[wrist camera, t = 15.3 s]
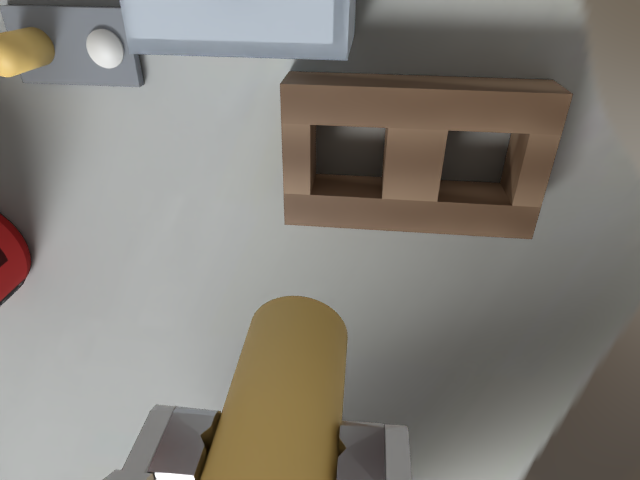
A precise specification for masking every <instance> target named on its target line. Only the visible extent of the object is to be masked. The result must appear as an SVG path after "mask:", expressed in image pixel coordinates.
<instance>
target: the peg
mask: <svg viewBox="0 0 640 480" xmlns="http://www.w3.org/2000/svg"><path fill="white" fill-rule="evenodd" d="M347 338H348V337H347V329H346V326H345V324H344V322H343V320H342V319H341V317H340V316H339V315H338V314H337V313H336V312H335V311H334V310H333V309H332V308H330V307H329V306H327V305H326V304H324V303H322V302H320V301H317V300H315V299H312V298H307V297H302V296H285V297H280V298H276V299H273V300H271V301H269V302H267V303H265V304H264V305H262V306H261V307H260V308H259V309H258V310H257V311H256V313H255V314H254V316H253V318H252V321H251V324H250V327H249V330H248V333H247V336H246V339H245V342H244V345H243V349H242V352H241V355H240V358H239V361H238V364H237V367H236V370H235V373H234V376H233V379H232V382H231V386H230V389H229V392H228V395H227V398H226V401H225V404H224V407H223V410H222V413H221V416H220V420H219V423H218V426H217V429H216V432H215V435H214V438H213V441H212V444H211V447H210V450H209V453H208V456H207V460H206V463H205V466H204V469H203V472H202V475H201V478H200V480H336V479H337V463H338V457H339V435H340V423H341V420H342V412H343V397H344V382H345V367H346V353H347Z"/></svg>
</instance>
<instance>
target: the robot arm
mask: <svg viewBox="0 0 640 480" xmlns="http://www.w3.org/2000/svg"><path fill="white" fill-rule="evenodd" d="M220 416H221V411H216V410H206V409H196V408H187V407H178V406H167V405H155V406H154V407H153V409H152V410H151V411H150V413H149V415H148V417H147V419H146V421H145V423H144V425H143V427H142V429H141V431H140V433H139V435H138V437H137V439H136V441H135V444H134V446H133V448H132V450H131V452H130V454H129V456H128V458H127V460H126V462H125V464H124V466H123V468H122V470H114V471H113V472H112V473H111V474H109V475H108V476H107V477H106V478H104V479H103V480H200V478H201V475H202V472H203V469H204V466H205V463H206V460H207V456H208V453H209V450H210V447H211V444H212V441H213V438H214V435H215V432H216V429H217V426H218V423H219V420H220ZM336 480H412V472H411V458H410V444H409V430H408V428H407V426H406V425H390V424H385V425H384V423H373V422H358V421H343V420H341V423H340V435H339V457H338V463H337V479H336Z"/></svg>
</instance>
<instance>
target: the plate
mask: <svg viewBox="0 0 640 480" xmlns="http://www.w3.org/2000/svg"><path fill="white" fill-rule="evenodd" d="M0 10H1V13H2V17H3V20H4V23H5V26H6V30H7V32H3V33H0V76H2V77H12V76H15V75H18V74H20V75H21V78H22V82H23V83H41V84H69V85H97V86H124V87H141V86H142V85H144V82H143V76H142V70H141V65H140V59H139V54H129V49H128V43H127V38H126V33H125V27H124V22H123V17H122V11H121V7H85V6H39V5H2V6H0Z"/></svg>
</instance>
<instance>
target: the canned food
mask: <svg viewBox="0 0 640 480" xmlns="http://www.w3.org/2000/svg"><path fill="white" fill-rule="evenodd" d="M30 266H31V258H30V252H29V249H28V246H27V244H26V242H25V240H24V238H23V237H22V235H21V234H20V233H19V231H18V230H17V229H16V227H15V226H14V225H13V224H12V223H11V222H10V221H9V220H7V219H6V218H5V217H4V216H2V215H1V214H0V306H1V305H2V304H3V303H4V302H5V301H6V300H7V299H8V298H10V297H11V296H12V295H13V294H14V293H15V292H16V291H17V290H18V289H19V288H20V287H21V286H22V285H23V283H24V281H25V279H26V277H27V275H28V273H29V270H30Z"/></svg>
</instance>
